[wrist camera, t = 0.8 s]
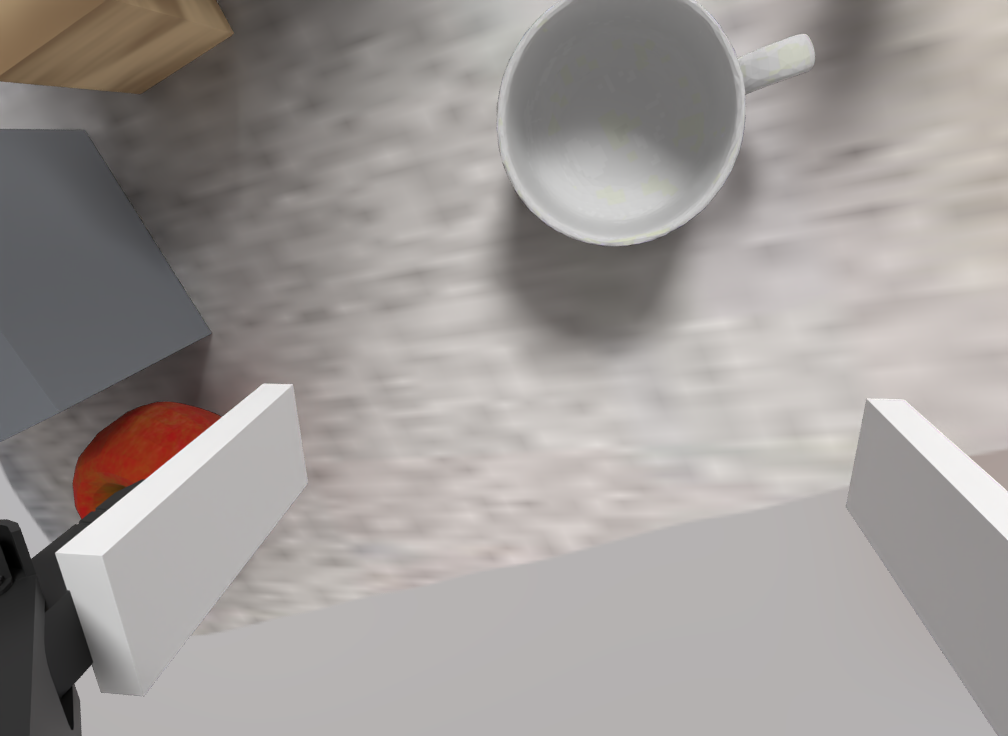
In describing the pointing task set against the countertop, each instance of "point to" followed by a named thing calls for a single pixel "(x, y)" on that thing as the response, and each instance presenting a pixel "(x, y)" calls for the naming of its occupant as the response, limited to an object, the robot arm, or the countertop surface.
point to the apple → (135, 449)
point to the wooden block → (105, 41)
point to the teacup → (629, 114)
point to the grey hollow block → (76, 280)
